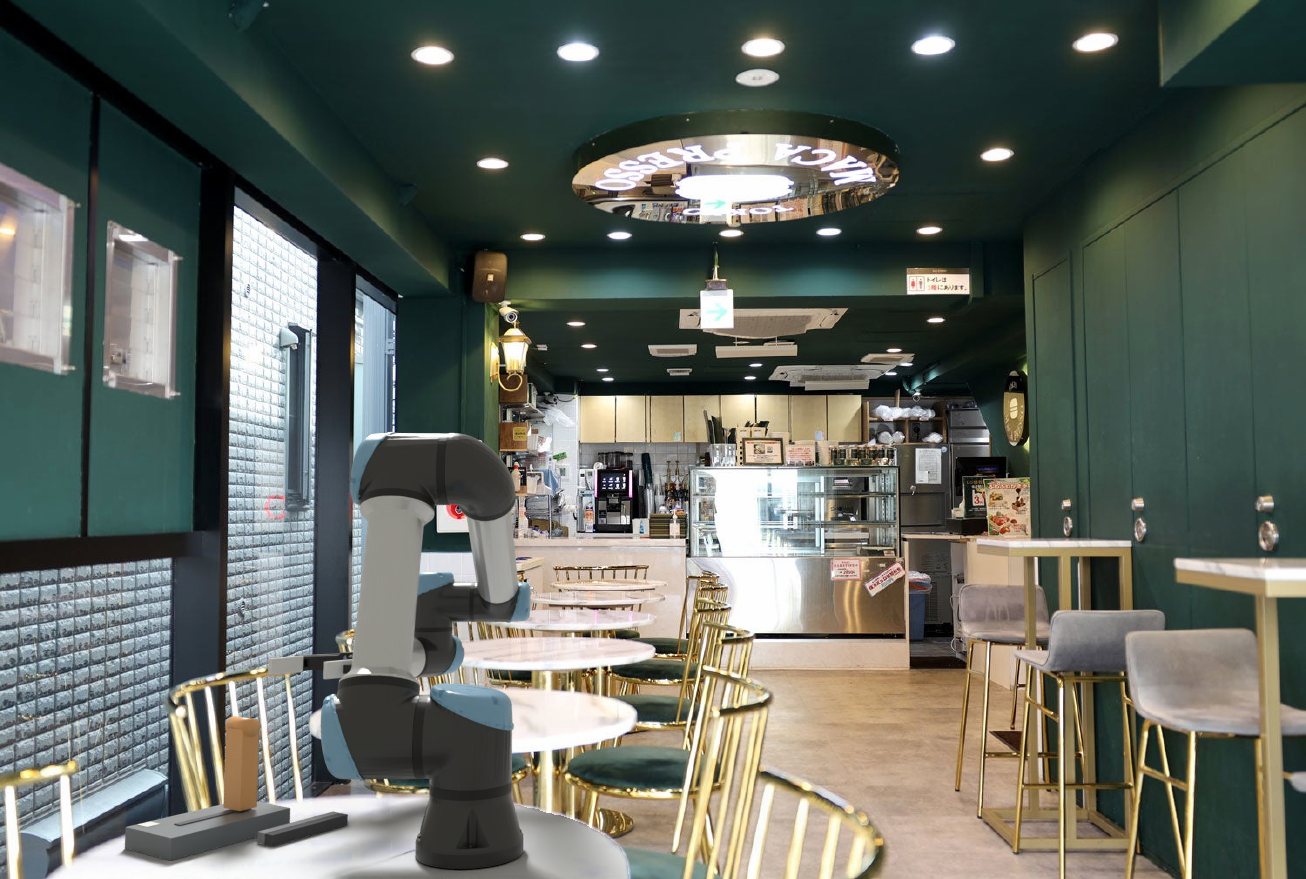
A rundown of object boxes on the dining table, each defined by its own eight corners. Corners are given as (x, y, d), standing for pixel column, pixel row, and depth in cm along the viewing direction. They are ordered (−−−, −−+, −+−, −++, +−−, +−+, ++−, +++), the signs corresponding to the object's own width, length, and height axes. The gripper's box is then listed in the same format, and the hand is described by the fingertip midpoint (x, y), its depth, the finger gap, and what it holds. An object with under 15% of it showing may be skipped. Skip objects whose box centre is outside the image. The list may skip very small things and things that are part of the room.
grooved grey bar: (347, 824, 165) (347, 814, 165) (272, 846, 153) (272, 835, 153) (332, 821, 167) (333, 811, 167) (257, 842, 155) (257, 831, 155)
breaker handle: (258, 807, 162) (261, 717, 163) (241, 811, 159) (245, 720, 161) (238, 803, 165) (241, 714, 166) (221, 807, 162) (224, 717, 163)
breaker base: (289, 827, 163) (290, 806, 163) (170, 860, 146) (171, 836, 146) (244, 818, 169) (244, 797, 169) (124, 848, 152) (125, 825, 152)
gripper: (443, 684, 183) (348, 696, 165) (344, 677, 197) (247, 687, 179) (444, 640, 184) (350, 647, 166) (346, 636, 197) (249, 642, 180)
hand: (296, 668), depth 173 cm, fingers open, 13 cm apart
